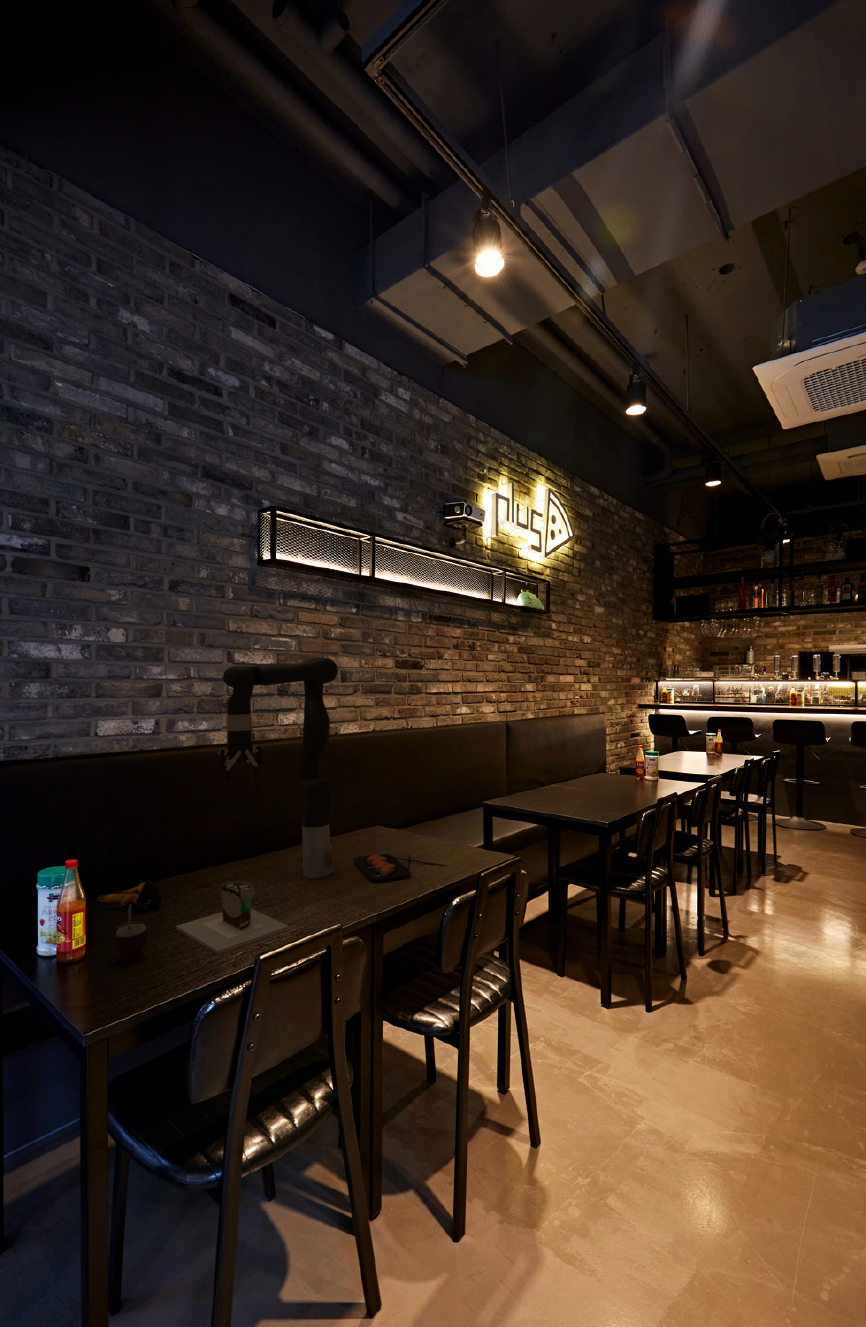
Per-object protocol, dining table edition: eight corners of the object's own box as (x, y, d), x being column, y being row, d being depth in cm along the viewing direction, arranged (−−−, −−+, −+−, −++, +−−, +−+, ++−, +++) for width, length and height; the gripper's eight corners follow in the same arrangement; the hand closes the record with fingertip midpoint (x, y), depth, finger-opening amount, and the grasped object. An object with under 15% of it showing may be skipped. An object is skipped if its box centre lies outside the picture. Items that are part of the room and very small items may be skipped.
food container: (263, 924, 164) (263, 887, 164) (242, 931, 159) (242, 893, 160) (240, 913, 172) (240, 877, 173) (220, 920, 168) (219, 883, 168)
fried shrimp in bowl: (158, 898, 177) (94, 883, 174) (151, 927, 180) (88, 913, 177) (169, 877, 186) (109, 862, 183) (162, 905, 189) (102, 891, 186)
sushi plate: (351, 863, 225) (351, 852, 225) (427, 852, 236) (426, 842, 236) (372, 886, 198) (371, 874, 198) (456, 873, 209) (456, 862, 209)
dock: (243, 908, 179) (243, 904, 180) (288, 929, 163) (288, 925, 163) (176, 929, 165) (176, 925, 165) (218, 955, 148) (218, 950, 148)
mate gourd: (133, 951, 152) (132, 890, 153) (156, 955, 149) (155, 893, 150) (106, 963, 145) (106, 900, 146) (130, 968, 142) (130, 904, 143)
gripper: (224, 730, 184) (224, 784, 184) (265, 727, 194) (266, 778, 194) (212, 730, 189) (213, 782, 189) (253, 726, 200) (254, 776, 199)
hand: (240, 780), depth 191 cm, fingers open, 8 cm apart
